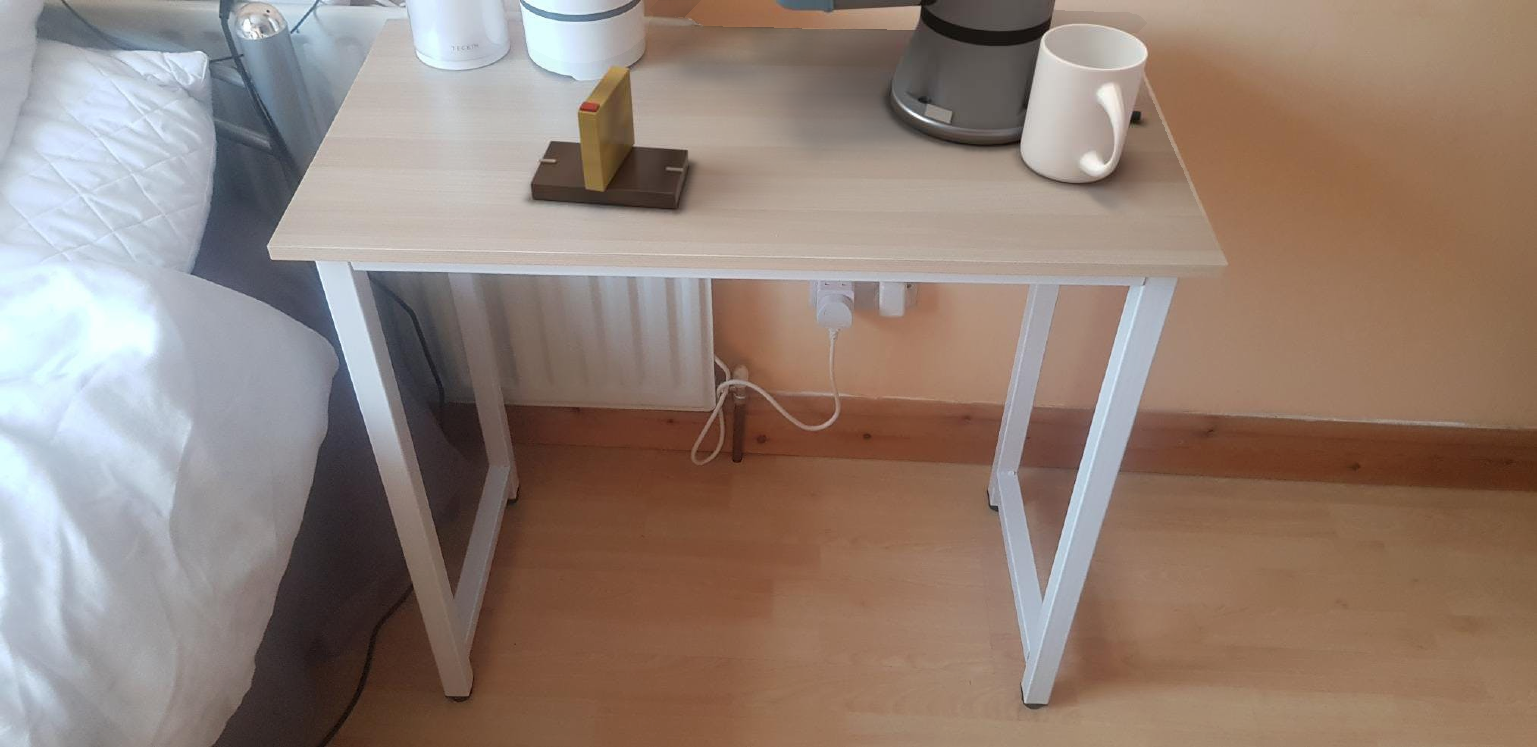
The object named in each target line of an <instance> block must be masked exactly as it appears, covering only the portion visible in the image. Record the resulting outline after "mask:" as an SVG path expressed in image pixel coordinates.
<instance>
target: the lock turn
mask: <svg viewBox="0 0 1537 747" xmlns="http://www.w3.org/2000/svg"><path fill="white" fill-rule="evenodd" d="M632 96H633V95H632V83H631V69H630V68H629V67H622V66H615V65H611V66H610V67H609V69H608V70H607V71H606V73H605V74H604V75H603V76H602V78H601V79H600V81H599V82H598V83H597V84H596V86H595V87H594V89H593V90H592V91H591V93H589V95H588V97H587V98H586V99H585V101H583V102H582V104H580V106H579V109H578V110H577V112H576V115H577V121H578V131H579V140H580V141H579V143H581V151H582V160H583V170H584V179H585V188H586V189H589V190H596V191H604V190H605V189H606V187H607V186H608V184H609V183H610V181H611V179H612V178H613V176H614V175H615V173H616V172H617V170H618V169H619V167H620V165H621V164H622V162H623V161H624V159H625V158H626V156H627V155H628V153H629V151H630V150H631V148H632V147H633V146H634V145H635V143H636V140H635V139H636V138H635V126H634V124H635V123H634V113H633V112H634V111H633V110H634V109H633V98H632Z"/></svg>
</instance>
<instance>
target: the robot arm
mask: <svg viewBox="0 0 1537 747" xmlns="http://www.w3.org/2000/svg"><path fill="white" fill-rule="evenodd" d="M1056 1H1057V0H774V2H775V3H776V4H778V6H780V7H781V8H783V9H785V10H789V11H807V12H809V11H815V12H816V11H817V12H819V11H822V12H824V13H827V14H830V13H833V12H834V11H842V10H843V11H845V10H863V9H884V8H885V9H886V8H903V7H920V12H919V19H918V22H917V24H916V26H915V29H914V31H913V33H912V35H911V37H910V40H909V42H908V44H907V45H906V48H905V51H904V52H903V54H902V57H901V59H900V60H899V63H898V65H897V68H896V69H895V72H894V76H893V79H892V83H891V85H892V86H891V93H890V103H891V106H892V109H893V110H894V111H895V113H896V114H897V116H899V118H900V119H902V120H903V122H905V123H907V124H908V125H909V126H911V127H913V128H915V129H916V130H918V131H921V132H922V133H924V134H927V135H930V136H932V137H935V138H939V139H942V140H946V141H949V142H956V143H961V144H971V145H1001V144H1008V143H1014V142H1018V141H1021V138H1022V133H1023V128H1024V123H1025V118H1026V113H1027V108H1028V103H1029V98H1030V93H1031V88H1032V83H1033V78H1034V73H1035V68H1036V63H1037V58H1038V53H1039V48H1040V43H1041V39H1042V37H1043V35H1044V34H1045V33H1046V32H1047V31H1049V30H1051V23H1052V18H1053V14H1054V10H1055V5H1056ZM1141 117H1142V111H1141V110H1133V112H1132V116H1131V119H1130V121H1140V120H1141Z"/></svg>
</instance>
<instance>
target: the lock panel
mask: <svg viewBox="0 0 1537 747" xmlns="http://www.w3.org/2000/svg"><path fill="white" fill-rule="evenodd" d="M538 163H539V165H538V167H537V169H536V171H535V173H534V175H533V177H532V179H531V182H530V191H531V192H530V193H531V198H532V200H541V201H542V200H544V201H545V200H546V201H557V202H558V201H559V202H560V201H561V202H573V203H589V204H600V205H616V206H631V207H641V208H643V207H644V208H657V209H673V210H676V209H677V207H678V203H679V199H680V196H681V191H682V189H683V186H684V182H685V178H686V174H687V171H688V169H689V168H688V167H689V150H688V149H680V148H665V147H663V148H662V147H650V146H636V145H635V146H634V145H633V147H632V148H631V150H630V151H629V153H628V155H627V156H626V158H625V159H624V161H623V162H622V164H621V165H620V167H619V169H618V170H617V172H616V173H615V175H614V176H613V178H612V179H611V181H610V183H609V184H608V186H607V187H606V189H605V190H604V191H596V190H589V189H586V188H585V179H584V170H583V160H582V151H581V142H576V141H562V140H561V141H559V140H550V142H549V144H548V146H547V147H546V150H545V152H544V154H543V156H542V158H539V160H538Z"/></svg>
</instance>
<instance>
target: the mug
mask: <svg viewBox="0 0 1537 747" xmlns="http://www.w3.org/2000/svg"><path fill="white" fill-rule="evenodd" d="M1148 57H1149V52H1148V49H1147V47H1146V45H1145V44H1144V42H1142V41H1141V40H1140V39H1139V38H1137V37H1135V36H1134V35H1132V34H1131V33H1128V32H1126V31H1123V30H1122V29H1121V30H1120V29H1117V28H1114V27H1111V26H1106V25H1100V24H1092V23H1070V24H1063V25H1059V26H1056V27H1052V28H1050V30H1049V31H1047V32H1046V33H1045V34H1044V35H1043V37H1042V39H1041V43H1040V48H1039V53H1038V58H1037V63H1036V68H1035V73H1034V78H1033V83H1032V88H1031V93H1030V98H1029V103H1028V108H1027V113H1026V118H1025V123H1024V128H1023V133H1022V138H1021V140H1020V154H1021V157H1022V159H1023V162H1024V163H1025V164H1026V165H1027V166H1028V168H1030V169H1031V170H1032V171H1033V172H1035V173H1037V174H1038V175H1041V176H1042V177H1045V178H1047V179H1050V180H1054V181H1058V182H1063V183H1070V184H1086V183H1087V184H1088V183H1093V182H1096V181H1100V180H1102V179H1104V178H1107V177H1108V176H1109V175H1110V174H1112V173H1113V172H1114V171H1115V169H1116V167H1117V166H1118V163H1119V162H1120V159H1121V155H1122V152H1123V149H1124V148H1123V147H1124V145H1125V141H1126V137H1127V134H1128V130H1129V126H1130V122H1131V120H1130V119H1131V116H1132V112H1133V111H1134V109H1135V104H1136V101H1137V98H1138V97H1137V96H1138V94H1139V90H1140V86H1141V83H1142V78H1143V75H1144V71H1145V68H1146V64H1147V61H1148Z"/></svg>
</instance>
